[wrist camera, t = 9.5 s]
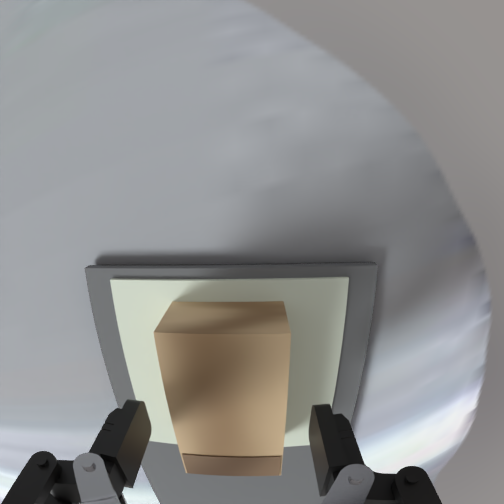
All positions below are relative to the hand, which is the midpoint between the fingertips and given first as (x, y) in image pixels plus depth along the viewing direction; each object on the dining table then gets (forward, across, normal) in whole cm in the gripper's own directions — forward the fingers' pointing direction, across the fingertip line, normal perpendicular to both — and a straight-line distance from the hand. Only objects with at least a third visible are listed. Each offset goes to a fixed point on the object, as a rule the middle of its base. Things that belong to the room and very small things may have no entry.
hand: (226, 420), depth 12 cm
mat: (+4, 0, +6) cm, 7 cm away
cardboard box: (+3, 0, 0) cm, 3 cm away
